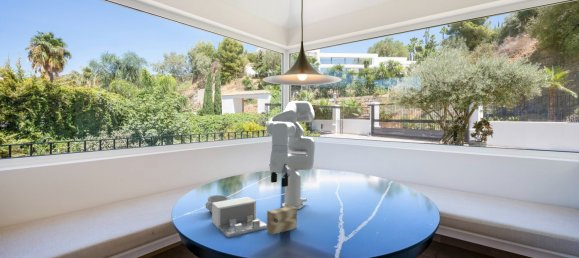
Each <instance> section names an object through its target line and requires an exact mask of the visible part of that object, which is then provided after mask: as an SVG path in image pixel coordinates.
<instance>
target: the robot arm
mask: <svg viewBox="0 0 579 258" xmlns="http://www.w3.org/2000/svg"><path fill="white" fill-rule="evenodd" d="M314 120H315V111H314V108H313V105H312V104H311V103H310V102H309V101H307V100H306V101H303V100H302V101H301V100H300V101H299V100H298V101H296V100H293V101H289V102H288V104H287V105H286V107H285V108H284V111H282V112H279V113H277V114H275V115H273V116H271V118H270V119H269V121H268V122H267V125H266V133H267V135H268V136H270V137H271V151H270V156H269V157H270V160H269V165H268V166H269V170H270V172H269V173H270V183H277V182H278V175H280V174H281V187H282V188H284V202H282V203H281V208H284V207H289V206H294V207H296V208H297V210H300V209H303V208H304V204H303V203H305V202H308V199H307V198H306V197H304V198H303V197H301V195H302V194H301V193H302V178H301V177H302V175H301V174H300V173H299V171H312V169H313V167H314V161H315V160H314V159H315V147H316V144H315V140H314V138H313V137H309V136H304V132H305V131H304V128H303V127H302V125H301V124H300V123H311V122H313V121H314ZM288 151H289V152H291V153H288Z"/></svg>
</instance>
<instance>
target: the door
mask: <svg viewBox="0 0 579 258" xmlns="http://www.w3.org/2000/svg"><path fill="white" fill-rule="evenodd" d="M297 215H298V209H297V208H296V207H294V206H289V207H284V208H283V207H280V208H276V209H275V208H274V209H270V210H267V211H266V217H267V218H266V222H267V223H266V225H267V228H266V231H267V233H268V234H269V233H270V234H269V235H271V236H272V235H276V233H277V234H280V232H281V233H284V232H287V231H291V230H295V229H297V221H298V219H297V218H298V217H297Z"/></svg>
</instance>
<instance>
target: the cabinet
mask: <svg viewBox="0 0 579 258" xmlns="http://www.w3.org/2000/svg"><path fill="white" fill-rule="evenodd" d="M249 215H253V218H254V217H256V218H257V201H256V200H255V199H254V198H252V197H250V196H243V197H239V198H232V199H227V200H225V201H219V202H213V203H212V212H211V222H212V224H213V225H214V226H215V227H216V228H217V229H218V225H222V224H227V223H229V220H230V219H234V218H235V219H236V221H241V220H245V219H246V216H249Z"/></svg>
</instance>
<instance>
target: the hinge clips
mask: <svg viewBox="0 0 579 258" xmlns="http://www.w3.org/2000/svg"><path fill="white" fill-rule="evenodd" d="M217 229H218V230H219V231H220V232H221V233H222V234H223V235H224V236H226V238H229V239H230V238H233V237H237V236H241V235H245V234H250V233H253V232H257V231H261V230H265V229H266V230H267V223H265V222H264V221H262V220H261V219H259V218H258V217H257V216H256V217H254V218H253V215H249V216H246V219H245V220H241V221H236V219H235V218H234V219H230V220H229V223H227V224H222V225H218V228H217Z"/></svg>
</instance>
